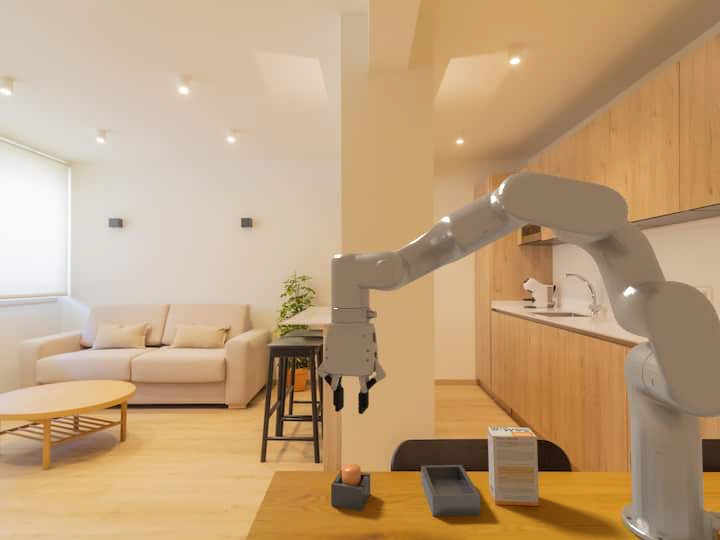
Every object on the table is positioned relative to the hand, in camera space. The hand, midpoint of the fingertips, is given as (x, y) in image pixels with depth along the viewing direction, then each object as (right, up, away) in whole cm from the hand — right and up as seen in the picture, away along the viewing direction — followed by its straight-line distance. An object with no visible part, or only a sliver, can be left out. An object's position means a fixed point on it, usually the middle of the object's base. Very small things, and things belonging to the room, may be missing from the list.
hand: (350, 409), depth 75 cm
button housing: (0, -17, -1) cm, 17 cm away
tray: (+19, -17, 0) cm, 26 cm away
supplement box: (+31, -17, -1) cm, 36 cm away
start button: (0, -15, 0) cm, 15 cm away
